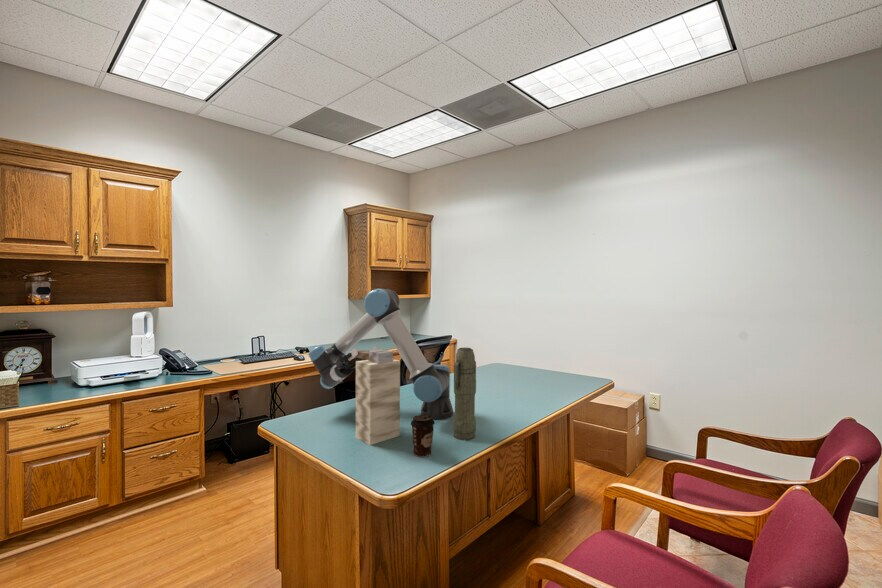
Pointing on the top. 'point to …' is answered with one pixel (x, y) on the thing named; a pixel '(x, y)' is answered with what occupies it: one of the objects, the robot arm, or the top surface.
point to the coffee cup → (422, 434)
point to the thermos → (464, 394)
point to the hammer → (376, 356)
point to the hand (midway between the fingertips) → (367, 349)
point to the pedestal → (377, 401)
